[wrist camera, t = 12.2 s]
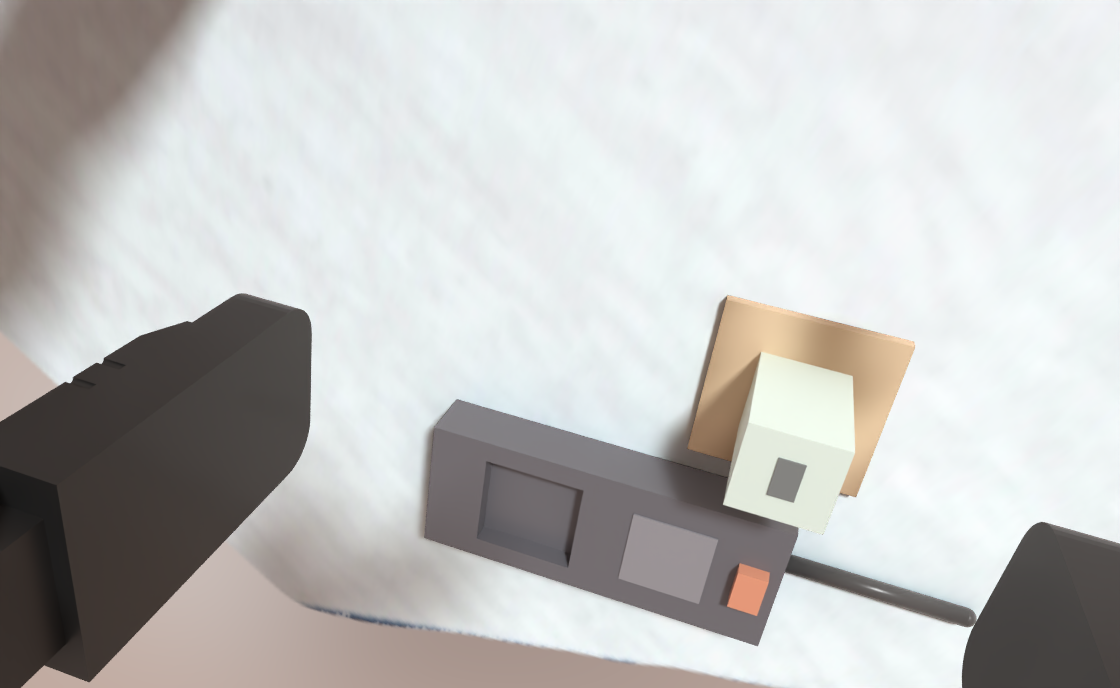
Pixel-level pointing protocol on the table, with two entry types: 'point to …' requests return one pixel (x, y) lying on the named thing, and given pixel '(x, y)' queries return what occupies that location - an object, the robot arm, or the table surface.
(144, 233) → the table surface
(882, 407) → the cork mat
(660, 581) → the power strip
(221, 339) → the robot arm
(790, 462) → the block
